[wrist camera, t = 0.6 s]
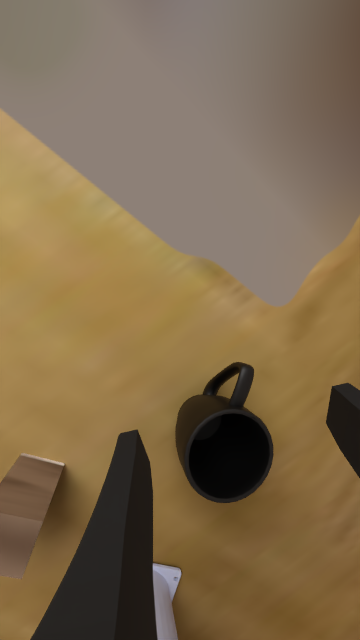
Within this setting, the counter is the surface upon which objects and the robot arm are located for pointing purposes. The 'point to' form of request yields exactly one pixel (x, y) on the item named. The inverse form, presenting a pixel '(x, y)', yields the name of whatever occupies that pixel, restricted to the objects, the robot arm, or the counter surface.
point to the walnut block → (24, 509)
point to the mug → (223, 440)
